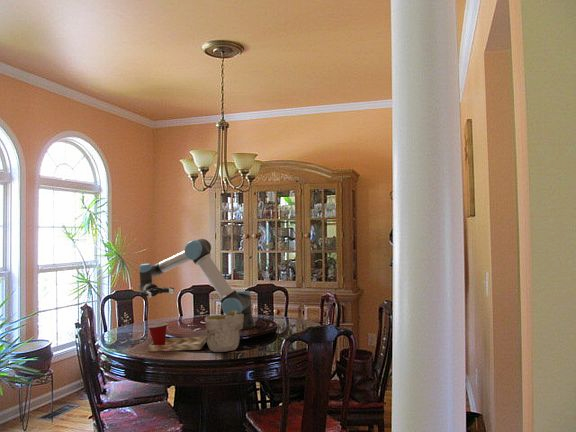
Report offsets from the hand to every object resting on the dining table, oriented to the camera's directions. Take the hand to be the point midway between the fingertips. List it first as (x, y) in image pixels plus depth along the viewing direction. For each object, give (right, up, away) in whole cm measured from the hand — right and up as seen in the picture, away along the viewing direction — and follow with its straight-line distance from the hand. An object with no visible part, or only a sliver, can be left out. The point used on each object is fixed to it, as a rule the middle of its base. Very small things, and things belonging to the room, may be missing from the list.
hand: (162, 293), depth 291 cm
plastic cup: (+3, -27, -15) cm, 31 cm away
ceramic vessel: (+39, -26, -23) cm, 53 cm away
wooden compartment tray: (+13, -27, -15) cm, 34 cm away
